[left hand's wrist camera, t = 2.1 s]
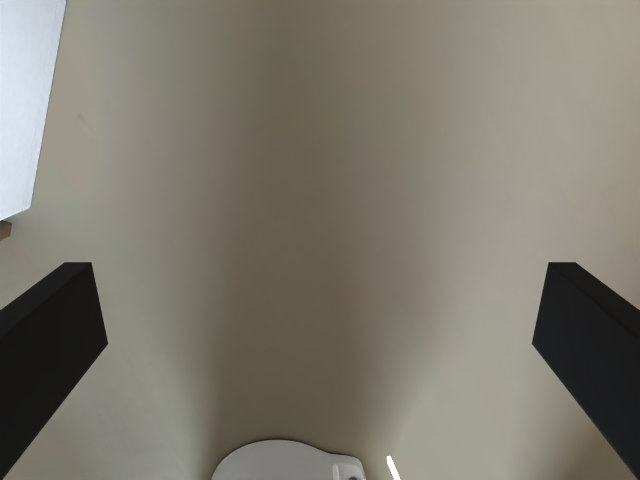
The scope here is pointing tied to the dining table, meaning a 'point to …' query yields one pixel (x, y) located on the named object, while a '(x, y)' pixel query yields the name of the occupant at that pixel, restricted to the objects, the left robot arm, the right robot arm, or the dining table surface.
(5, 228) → the drawer
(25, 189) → the white rectangular block
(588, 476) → the dining table surface
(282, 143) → the dining table surface
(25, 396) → the left robot arm
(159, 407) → the dining table surface
